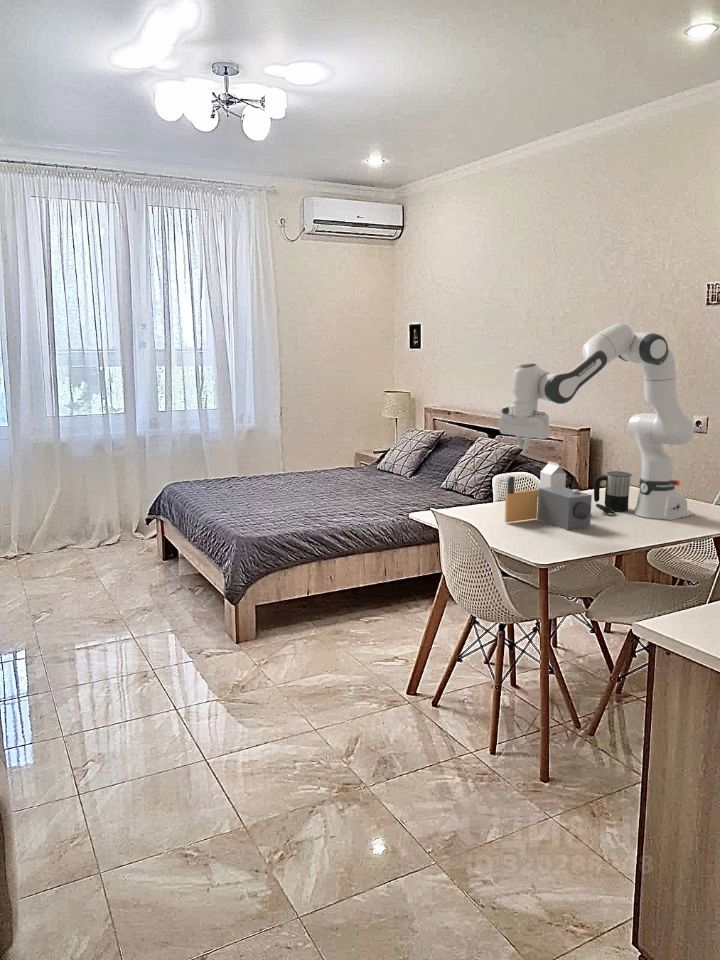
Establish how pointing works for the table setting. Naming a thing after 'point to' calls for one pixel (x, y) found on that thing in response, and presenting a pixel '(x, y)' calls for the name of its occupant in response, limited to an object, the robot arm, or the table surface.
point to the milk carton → (552, 476)
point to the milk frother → (613, 491)
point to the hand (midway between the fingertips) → (523, 448)
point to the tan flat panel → (520, 503)
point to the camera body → (564, 507)
